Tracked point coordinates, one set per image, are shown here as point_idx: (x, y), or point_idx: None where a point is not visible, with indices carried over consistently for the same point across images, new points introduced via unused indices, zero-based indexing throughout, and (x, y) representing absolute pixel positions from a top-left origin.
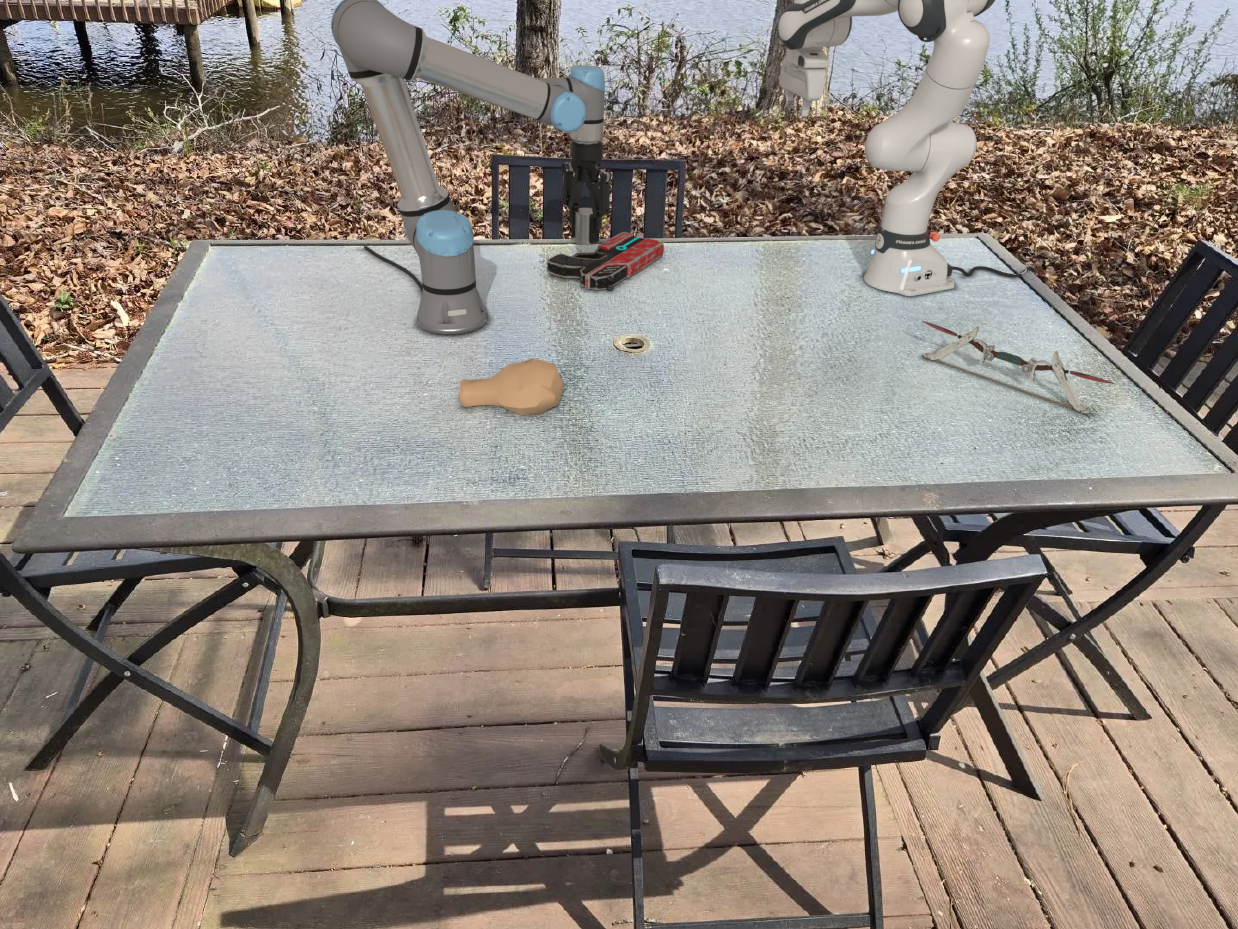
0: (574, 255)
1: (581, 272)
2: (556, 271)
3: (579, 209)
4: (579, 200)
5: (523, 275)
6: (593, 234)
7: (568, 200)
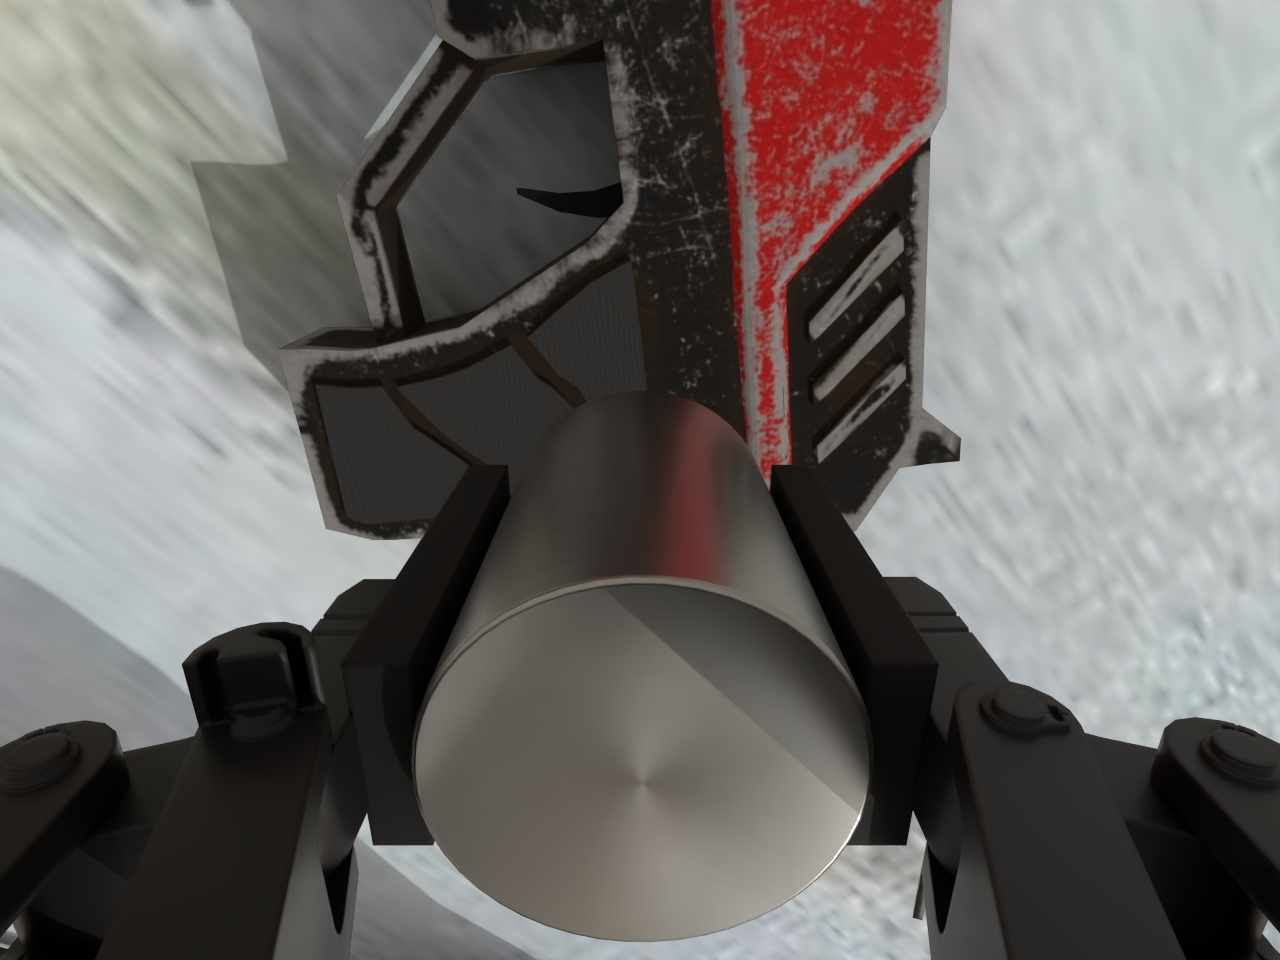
0: (372, 262)
1: None
2: None
3: (480, 799)
4: (305, 845)
5: (276, 580)
6: None
7: (72, 904)
